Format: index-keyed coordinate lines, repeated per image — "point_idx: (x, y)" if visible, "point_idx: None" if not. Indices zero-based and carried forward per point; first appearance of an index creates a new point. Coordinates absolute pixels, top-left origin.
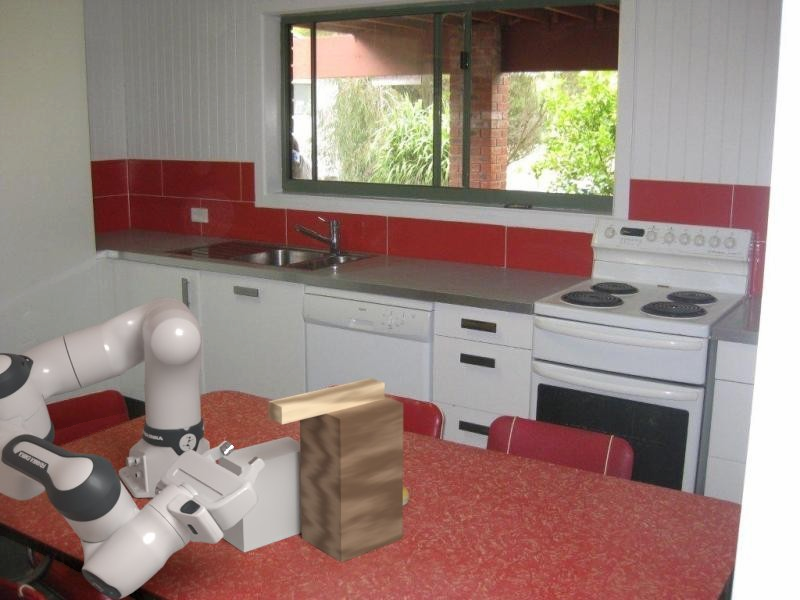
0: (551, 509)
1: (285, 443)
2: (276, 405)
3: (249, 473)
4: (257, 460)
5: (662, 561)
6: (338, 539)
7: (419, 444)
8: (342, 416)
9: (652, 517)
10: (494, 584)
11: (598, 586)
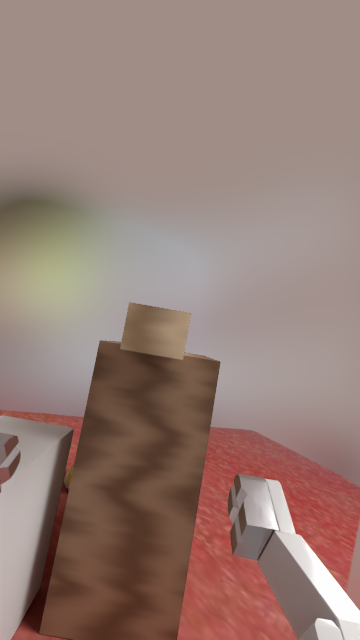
0: (208, 454)
1: (14, 427)
2: (166, 310)
3: (351, 609)
4: (283, 494)
5: (311, 475)
6: (172, 606)
7: (52, 420)
8: (209, 359)
9: (250, 446)
10: (325, 559)
11: (345, 515)
